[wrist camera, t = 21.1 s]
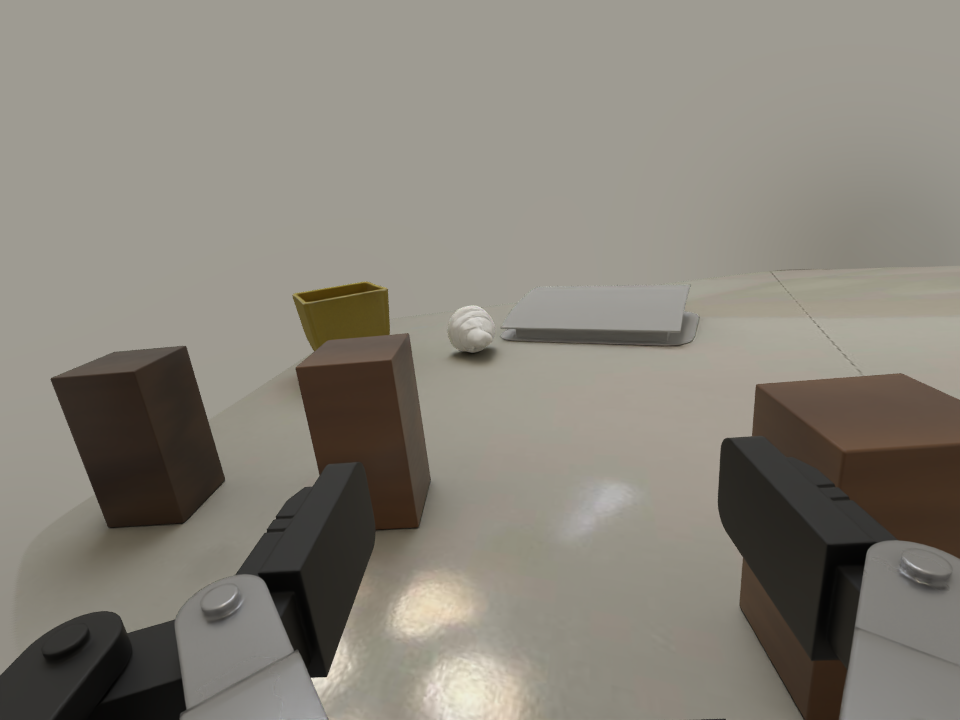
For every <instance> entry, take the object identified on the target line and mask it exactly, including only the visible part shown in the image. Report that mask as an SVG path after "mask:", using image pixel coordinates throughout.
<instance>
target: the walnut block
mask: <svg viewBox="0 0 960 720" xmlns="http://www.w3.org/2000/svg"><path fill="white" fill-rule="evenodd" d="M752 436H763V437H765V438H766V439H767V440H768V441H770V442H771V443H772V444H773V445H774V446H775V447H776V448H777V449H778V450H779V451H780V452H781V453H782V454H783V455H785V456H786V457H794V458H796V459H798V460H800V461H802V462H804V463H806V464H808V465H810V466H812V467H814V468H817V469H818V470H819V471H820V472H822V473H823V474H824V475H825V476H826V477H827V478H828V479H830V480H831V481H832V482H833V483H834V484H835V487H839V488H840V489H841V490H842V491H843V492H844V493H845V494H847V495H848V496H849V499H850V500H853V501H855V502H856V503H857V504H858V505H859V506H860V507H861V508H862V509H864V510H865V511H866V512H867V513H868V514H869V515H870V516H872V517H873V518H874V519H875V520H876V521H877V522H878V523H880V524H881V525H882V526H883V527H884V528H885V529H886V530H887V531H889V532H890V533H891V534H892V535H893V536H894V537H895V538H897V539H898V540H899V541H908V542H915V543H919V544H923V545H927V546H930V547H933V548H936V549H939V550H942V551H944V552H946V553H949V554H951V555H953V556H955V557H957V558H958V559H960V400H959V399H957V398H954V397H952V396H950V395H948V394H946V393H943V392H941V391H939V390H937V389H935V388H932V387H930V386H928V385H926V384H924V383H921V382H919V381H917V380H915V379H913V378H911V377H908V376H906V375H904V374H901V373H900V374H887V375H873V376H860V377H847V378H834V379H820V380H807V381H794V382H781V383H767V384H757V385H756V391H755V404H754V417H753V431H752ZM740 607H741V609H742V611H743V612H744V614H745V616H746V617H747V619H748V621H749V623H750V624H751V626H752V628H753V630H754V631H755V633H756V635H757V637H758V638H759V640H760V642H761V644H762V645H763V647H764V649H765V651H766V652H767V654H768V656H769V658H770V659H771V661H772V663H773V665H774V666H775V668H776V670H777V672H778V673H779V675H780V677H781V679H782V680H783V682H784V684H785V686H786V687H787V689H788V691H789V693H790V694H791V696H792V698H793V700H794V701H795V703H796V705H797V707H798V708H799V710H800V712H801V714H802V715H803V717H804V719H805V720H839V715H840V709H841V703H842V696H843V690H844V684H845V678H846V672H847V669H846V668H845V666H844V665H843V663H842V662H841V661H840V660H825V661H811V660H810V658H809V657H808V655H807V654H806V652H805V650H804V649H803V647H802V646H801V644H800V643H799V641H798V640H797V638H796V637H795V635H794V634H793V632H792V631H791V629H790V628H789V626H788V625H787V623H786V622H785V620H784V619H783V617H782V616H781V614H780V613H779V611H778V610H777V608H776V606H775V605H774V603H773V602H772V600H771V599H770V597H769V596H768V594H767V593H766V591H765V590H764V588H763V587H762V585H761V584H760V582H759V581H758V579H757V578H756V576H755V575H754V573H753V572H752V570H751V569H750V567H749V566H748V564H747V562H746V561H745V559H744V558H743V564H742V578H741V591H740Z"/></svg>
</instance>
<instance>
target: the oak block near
mask: <svg viewBox="0 0 960 720" xmlns="http://www.w3.org/2000/svg"><path fill="white" fill-rule="evenodd" d="M51 382H52V384H53V387H54V389H55V392H56V394H57V397H58V400H59V402H60V405H61V408H62V410H63V413H64V415H65V418H66V420H67V423H68V426H69V428H70V431H71V433H72V436H73V438H74V441H75V444H76V446H77V449H78V451H79V454H80V456H81V459H82V462H83V464H84V467H85V469H86V472H87V474H88V477H89V480H90V482H91V484H92V487H93V490H94V492H95V495H96V498H97V500H98V503H99V505H100V508H101V510H102V513H103V516H104V518H105V521H106V523H107V526H108V527H125V526H141V525H157V524H173V523H184V522H185V521H186V520H187V519H188V518H189V517H190V516H191V515H192V514H193V513H194V512H195V511H196V510H197V508H198V507H199V506H200V505H201V504H202V503H203V502H204V501H205V500H206V499H207V498H208V497H209V496H210V495H211V494H212V493H213V492H214V491H215V490H216V489H217V488H218V487H219V486H220V485H221V483H222V482H223V481H224V480H225V477H224V474H223V470H222V467H221V463H220V460H219V457H218V453H217V450H216V446H215V443H214V440H213V436H212V433H211V429H210V426H209V422H208V419H207V416H206V412H205V409H204V406H203V402H202V399H201V395H200V392H199V388H198V385H197V382H196V378H195V375H194V371H193V368H192V365H191V361H190V358H189V354H188V351H187V348H186V346H177V347H165V348H154V349H143V350H132V351H120V352H113V353H111V354H108V355H106V356H104V357H101V358H98V359H96V360H94V361H91V362H89V363H86V364H84V365H82V366H79V367H77V368H74V369H72V370H70V371H67V372H65V373H62V374H60V375H58V376H55V377H53V378H51Z"/></svg>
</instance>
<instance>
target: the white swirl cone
mask: <svg viewBox="0 0 960 720" xmlns="http://www.w3.org/2000/svg"><path fill="white" fill-rule="evenodd" d="M447 331H448V337H449V339H450V342H451V344H452V345H453V347H455V348H456V349H458V350H459V351H467V352H470V353H475V352H479V351H481V350H483V349H484V348H485V347H486V346H488V345H489V344H490V343H491V342H492V341H493V338H494V334H495V325H494V322H493V320H492V318H491V317H490V315H489V314H487V312H486V311H485V310H484V309H482V308H481V307H478V306H466V307H463V308H460V309H459V310H457V311H456V312H455V313H454V314H453V316H452V317H451V319H450V321H449V325H448V329H447Z"/></svg>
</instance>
